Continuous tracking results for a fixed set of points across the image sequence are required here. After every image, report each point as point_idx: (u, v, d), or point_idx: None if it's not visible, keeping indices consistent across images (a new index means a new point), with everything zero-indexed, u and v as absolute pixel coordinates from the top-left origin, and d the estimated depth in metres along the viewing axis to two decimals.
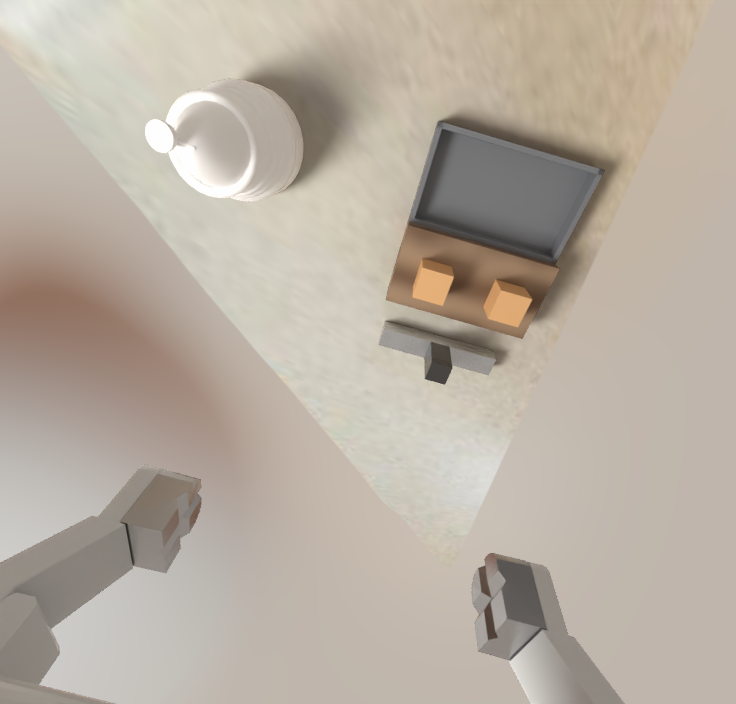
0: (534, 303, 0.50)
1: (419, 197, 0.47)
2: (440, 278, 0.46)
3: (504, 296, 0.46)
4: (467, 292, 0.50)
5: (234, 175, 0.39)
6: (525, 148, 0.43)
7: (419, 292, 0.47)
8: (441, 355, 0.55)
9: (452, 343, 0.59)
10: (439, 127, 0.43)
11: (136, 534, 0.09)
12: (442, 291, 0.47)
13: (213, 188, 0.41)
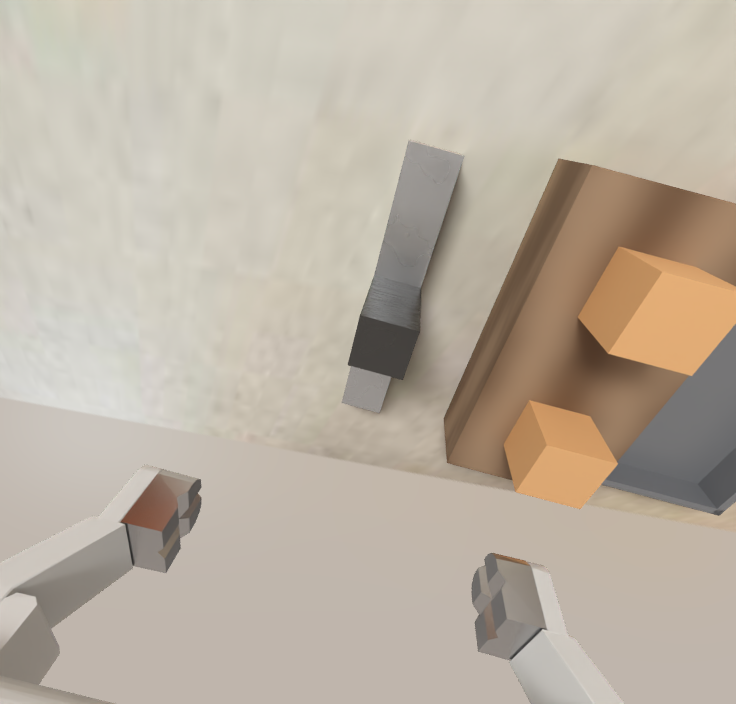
0: None
1: None
2: (700, 345, 0.17)
3: (600, 469, 0.21)
4: (571, 370, 0.22)
5: None
6: None
7: (673, 291, 0.16)
8: None
9: None
10: None
11: (136, 534, 0.09)
12: (655, 351, 0.17)
13: None
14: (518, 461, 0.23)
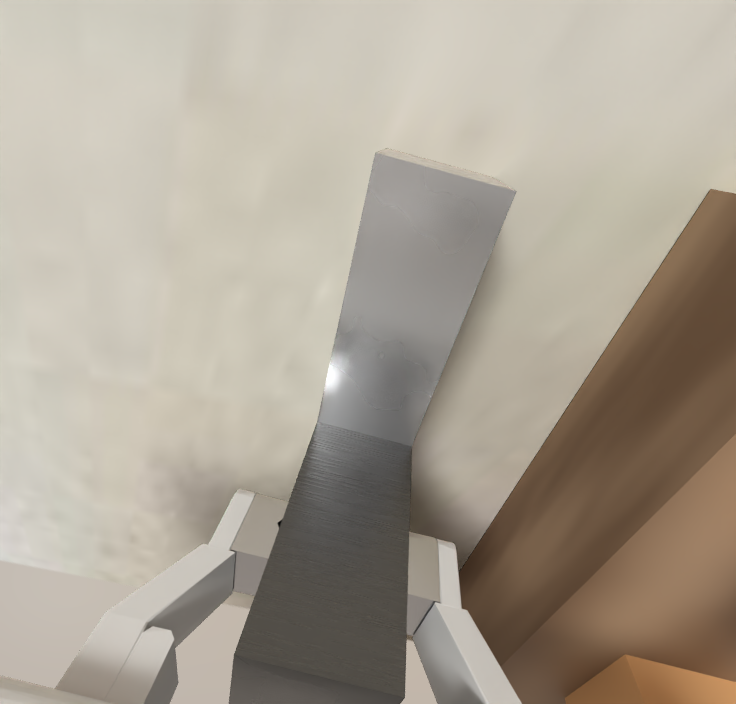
0: None
1: None
2: None
3: None
4: (724, 625, 0.11)
5: None
6: None
7: None
8: None
9: None
10: None
11: (243, 561, 0.09)
12: None
13: None
14: None
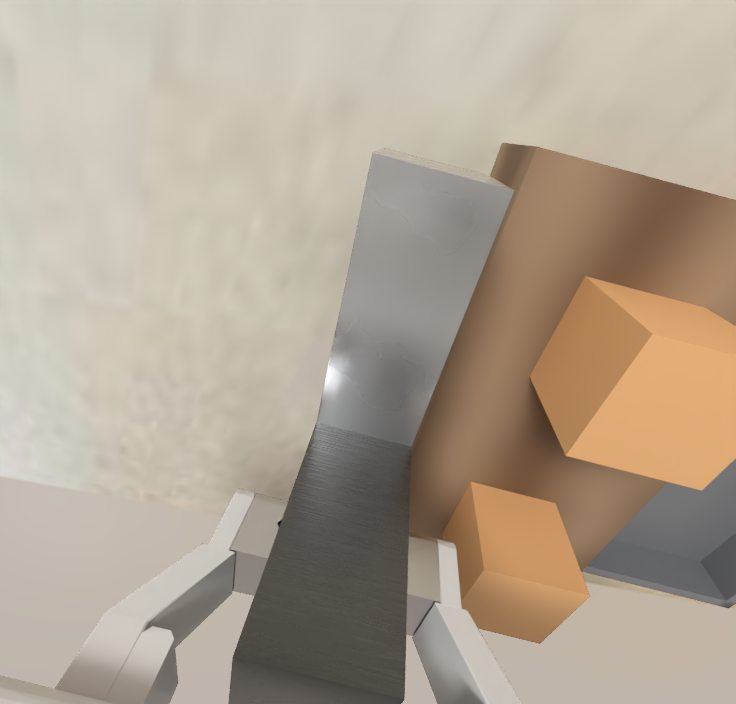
0: None
1: None
2: (716, 447, 0.10)
3: (564, 601, 0.14)
4: (525, 445, 0.16)
5: None
6: None
7: (671, 366, 0.09)
8: None
9: None
10: None
11: (243, 561, 0.09)
12: (642, 454, 0.10)
13: None
14: None
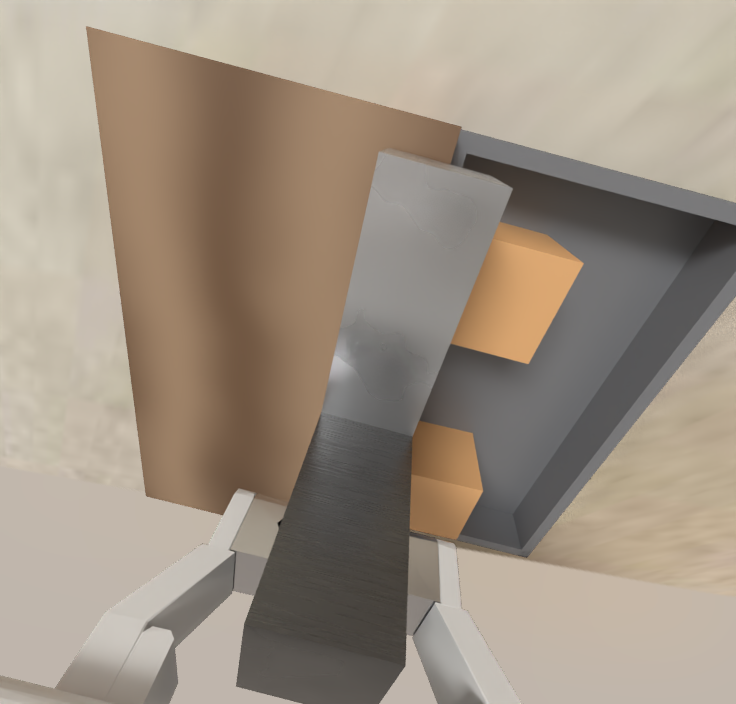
0: None
1: (544, 167, 0.12)
2: None
3: None
4: (229, 370, 0.15)
5: None
6: (613, 444, 0.18)
7: None
8: None
9: None
10: None
11: (243, 561, 0.09)
12: None
13: None
14: (436, 521, 0.19)
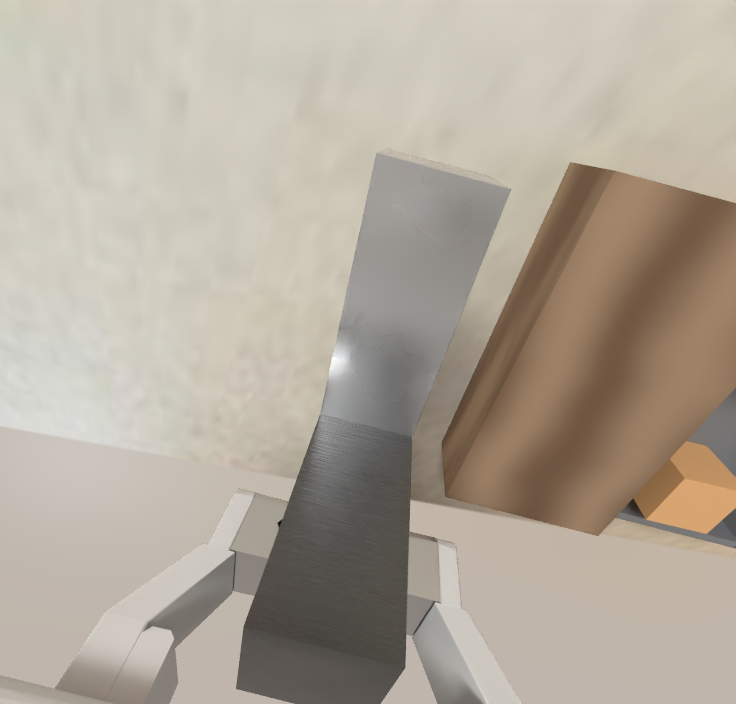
0: (528, 509, 0.24)
1: None
2: None
3: None
4: (584, 400, 0.20)
5: None
6: None
7: None
8: None
9: None
10: None
11: (243, 561, 0.09)
12: None
13: None
14: (696, 518, 0.24)
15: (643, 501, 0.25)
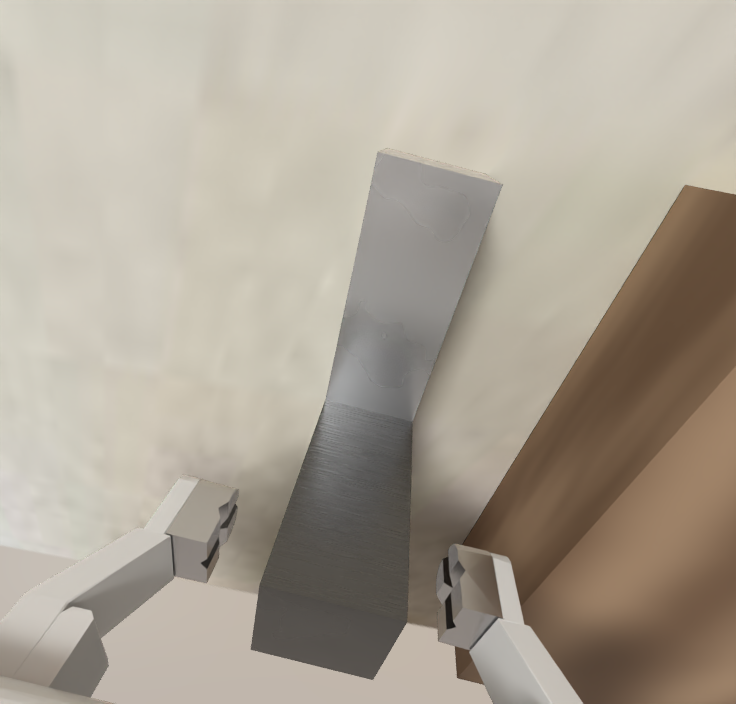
0: (583, 700, 0.16)
1: None
2: None
3: None
4: (700, 589, 0.12)
5: None
6: None
7: None
8: None
9: None
10: None
11: (180, 545, 0.09)
12: None
13: None
14: None
15: None
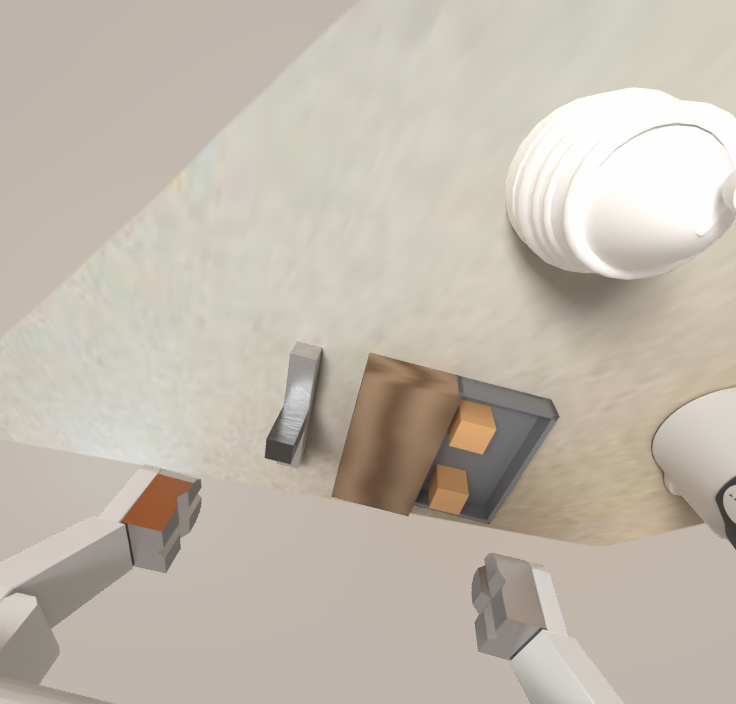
0: (372, 502, 0.49)
1: (485, 400, 0.42)
2: None
3: None
4: (380, 453, 0.45)
5: (604, 249, 0.23)
6: (517, 478, 0.47)
7: None
8: (298, 439, 0.44)
9: (307, 425, 0.49)
10: (553, 417, 0.42)
11: (136, 534, 0.09)
12: None
13: (585, 190, 0.23)
14: (450, 507, 0.49)
15: (430, 499, 0.50)
